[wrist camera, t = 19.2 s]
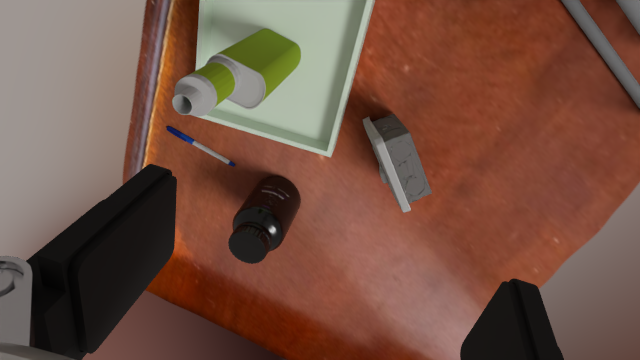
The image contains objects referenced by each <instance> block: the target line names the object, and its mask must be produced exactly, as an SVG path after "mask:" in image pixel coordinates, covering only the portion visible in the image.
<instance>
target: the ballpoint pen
mask: <svg viewBox="0 0 640 360" xmlns="http://www.w3.org/2000/svg"><path fill="white" fill-rule="evenodd" d="M167 130H168V131H169V132H170V133H172V134H174V135H175V136H177V137H179V138H180V139H182V140H184V141H185V142H186V141H187V142H188V143H191V144H193V145H195V146H197V147H198V148H200V149H202V150H204V151H205V152H207V153H209V154H211V155H212V156H214V157H216V158H218V159H219V160H221V161H223V162H225V163H226V164H228V165H231V166H233V167H234V166H235V164H234V163H233V162H231V161H230V160H228V159H226V158H225V157H223V156H221V155H219V154H218V153H216V152H214V151H212V150H211V149H209V148H207V147H205V146H204V145H202V144H200V143H198V142H197V141H195V140H194V139H192V138H190V137H189V136H186V135H185V134H183V133H182V132H180V131H178V130H176V129H174V128H172V127H170V126H168V127H167Z"/></svg>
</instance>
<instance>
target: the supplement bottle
mask: <svg viewBox="0 0 640 360" xmlns="http://www.w3.org/2000/svg"><path fill="white" fill-rule="evenodd" d="M300 203H301V199H300V194H299V192H298V190H297V188H296V187H295V186H294V185H293V184H292V183H291V182H290V181H288V180H286V179H284V178H281V177H276V176H272V177H267V178H265V179H263V180H261V181H260V182H259V183H258V184H257V186H256V187H255V188H254V190H253V191H252V192H251V194H250V195H249V196H248V198H247V199H246V201H245V202H244V203H243V205H242V206H241V207H240V209H239V210H238V212H237V213H236V215H235V216H234V219H233V233H232V235H231V236H230V238H229V242H228V243H229V245H228V246H229V249H230V251H231V252H232V254H233V255H234V256H235V257H236V258H238V259H239V260H241V261H243V262H245V263H251V264H253V263H259V262H260V261H262V260H263V259H264V258H265V256H266V255H267V253H268V252H269V251H272V250H274V249H276V248H277V247H279V246H280V244H281V243H282V241H283V240H284V238H285V236H286V234H287V232H288V230H289V228H290V226H291V224H292V222H293V220H294V218H295V216H296V214H297V212H298V209H299V207H300Z"/></svg>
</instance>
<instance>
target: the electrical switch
mask: <svg viewBox="0 0 640 360" xmlns="http://www.w3.org/2000/svg"><path fill="white" fill-rule="evenodd" d="M363 124H364V127H365V130H366V132H367V135H368V137H369V140H370V142H371V145H372V147H373V150H374V152H375V154H376V157H377V159H378V161H379V172H380V176H381V178H382V181H383V183H388V185H389V187H390V189H391V191H392V193H393V195H394V197H395V199H396V201H397V203H398V205H399V206H400V208H401V210H402V211H403V213H404V212H407V211H410V210H411V209H410V206H409V204H410V203H411V202H413V201H417V200H418V199H420V198H421V197H423V196H426V195H428V194H431V193H432V192H431V189H430V186H429V184H428V181H427V178H426V175H425V173H424V170H423V167H422V165H421V162H420V159H419V156H418V154H417V151H416V148H415V145H414V143H413V140H412V137H411V135H410V132H409V131H408V130H407V128H406V127H405V126H404V125H403V124H402V123H401V121H400V120H399V119H398V118H397V117H396V116H395V114H392V115H389V116H387V117H385V118H384V117H383V118H380V119H378V120H376V121H373V122H371V121H370V118H369V117H367V118H365V119H363ZM407 132H409V133H407ZM405 133H406V134H405ZM403 134H404V135H403ZM409 143H410V144H409Z"/></svg>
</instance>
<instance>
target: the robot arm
mask: <svg viewBox="0 0 640 360" xmlns="http://www.w3.org/2000/svg"><path fill="white" fill-rule="evenodd" d="M176 188H177V179H176V177H174V176H172V172H171V170H169V169H166V168H163V167H160V166H156V165H153V164H149V165H147V166H146V167H145V168H143V169H142V170H141V171H140V172H139V173H137V174H136V175H135V176H134V177H132V178H131V179H130V180H129V181H127V182H126V183H125V184H124V185H122V186H121V187H120V188H119V189H118V190H116V191H115V192H114V193H113V194H111V195H110V196H109V197H108V198H106V199H105V200H102V201H101V202H99V203H98V204H97V205H95V206H94V207H93V208H92V209H90V210H89V211H88V212H86V213H85V214H84V215H83V216H81V217H80V218H79V219H78V220H77V221H76V222H74V223H73V224H72V225H70V226H69V227H68V228H67V229H66V230H64V231H63V232H62V233H60V234H59V235H58V236H57V237H55V238H54V239H53V240H52V241H50V242H49V243H48V244H47V245H45V246H44V247H43V248H42V249H40V250H39V251H38V252H37V253H35V254H34V255H33V256H32V257H31V258H29V259H28V260H27V261H24V260H22V259H20V258H18V257H11V256H0V360H82V358H83V357H84V356H85V355H86V354H87V353H90V354H91V353H93V352H95V351H96V350H97V349H98V348H99V346H100V345H101V344H102V343H103V341H104V340H105V339H106V338H107V336H108V335H109V334H110V333H111V331H112V330H113V329H114V328H115V326H116V325H117V324H118V323H119V321H120V320H121V319H122V318H123V316H124V315H125V314H126V312H127V311H128V310H129V309H130V307H131V306H132V305H133V304H134V303H135V301H136V300H137V299H138V298H139V296H140V295H141V294H142V293H143V291H144V290H145V289H146V288H147V286H148V285H149V284H150V283H151V281H152V280H153V279H154V278H155V276H156V275H157V274H158V273H159V271H160V270H161V269H162V268H163V266H164V265H165V264H166V263H167V261H168V260H169V259H170V257H171V255H172V253H173V250H174V241H175V215H176ZM460 357H461V360H564V358H563V355H562V353H561V351H560V349H559V347H558V346H557V343H556V340H555V337H554V334H553V331H552V328H551V325H550V322H549V319H548V316H547V313H546V310H545V307H544V304H543V301H542V298H541V295H540V292H539V289H538V287H537V286H536V285H534V284H531V283H527V282H524V281H521V280H518V279H511V280H510V281H509V282H506V281H504V282H502V284H501V285H500V286H499V288H498V290H497V291H496V293H495V294H494V296H493V297H492V299H491V300H490V302H489V303H488V305H487V306H486V308H485V309H484V311H483V312H482V314H481V316H480V317H479V319H478V320H477V322H476V323H475V325H474V326H473V328H472V329H471V331H470V332H469V334H468V335H467V337H466V338H465V340H464V342H463V344H462V347H461V352H460Z"/></svg>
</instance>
